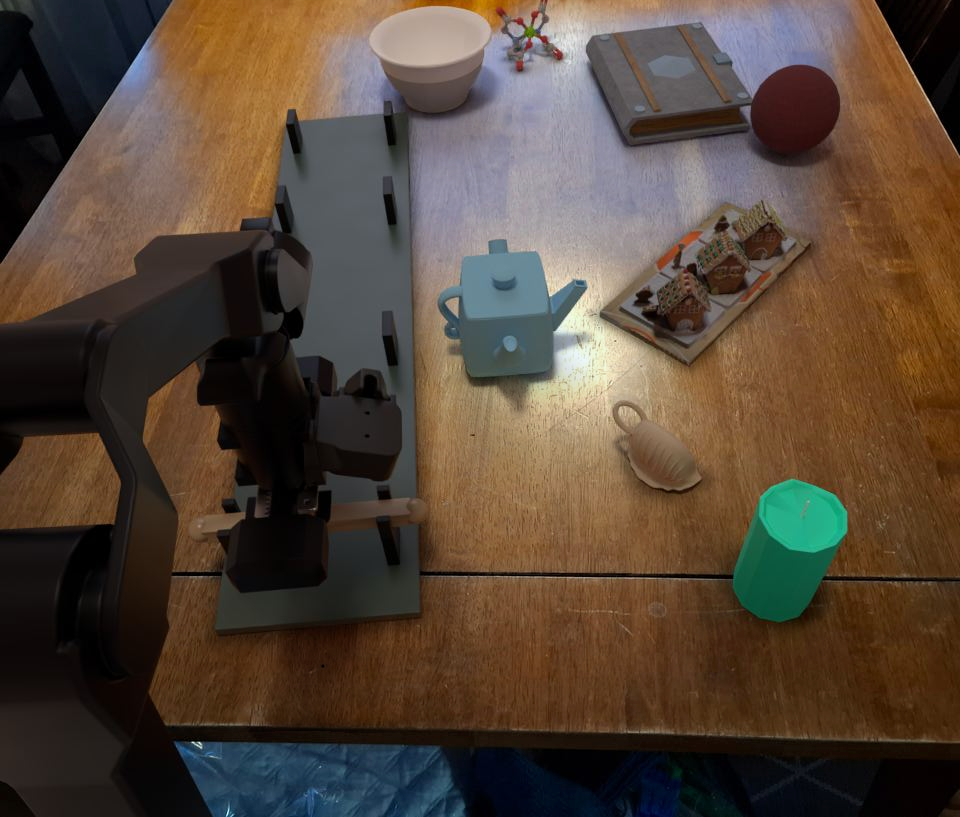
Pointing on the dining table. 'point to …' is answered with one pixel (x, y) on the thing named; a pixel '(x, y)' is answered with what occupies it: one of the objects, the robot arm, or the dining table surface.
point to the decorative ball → (795, 109)
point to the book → (668, 83)
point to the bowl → (432, 54)
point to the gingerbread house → (706, 280)
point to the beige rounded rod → (340, 520)
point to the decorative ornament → (657, 453)
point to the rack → (348, 357)
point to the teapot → (506, 312)
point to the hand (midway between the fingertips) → (311, 527)
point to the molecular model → (527, 34)
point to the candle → (788, 549)
